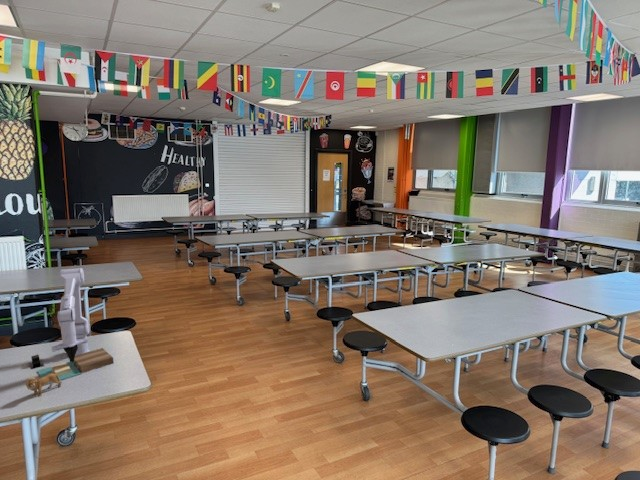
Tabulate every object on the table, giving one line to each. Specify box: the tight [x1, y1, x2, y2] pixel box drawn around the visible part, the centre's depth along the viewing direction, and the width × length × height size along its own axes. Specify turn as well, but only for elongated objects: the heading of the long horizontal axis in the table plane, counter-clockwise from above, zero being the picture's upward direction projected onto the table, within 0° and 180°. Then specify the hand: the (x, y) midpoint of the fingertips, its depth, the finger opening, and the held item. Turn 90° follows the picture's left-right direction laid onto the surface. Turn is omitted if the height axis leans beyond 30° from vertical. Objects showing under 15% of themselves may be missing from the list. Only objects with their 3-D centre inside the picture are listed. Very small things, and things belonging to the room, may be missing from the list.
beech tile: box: [50, 361, 71, 376], centre depth 197 cm, size 9×6×2 cm, turn 44°
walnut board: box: [72, 347, 114, 374], centre depth 206 cm, size 16×14×3 cm
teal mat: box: [36, 360, 82, 386], centre depth 197 cm, size 18×14×1 cm
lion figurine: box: [25, 373, 62, 397], centre depth 180 cm, size 15×5×9 cm, turn 160°
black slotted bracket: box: [28, 354, 45, 370], centre depth 206 cm, size 12×7×5 cm, turn 40°
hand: (72, 361), depth 200 cm, fingers closed
